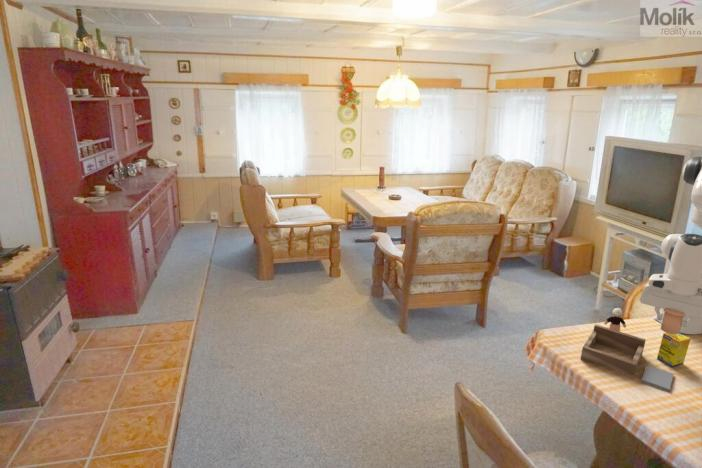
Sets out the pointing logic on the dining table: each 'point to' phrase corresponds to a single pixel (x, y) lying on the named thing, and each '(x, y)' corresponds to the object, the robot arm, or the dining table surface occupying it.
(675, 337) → the supplement box
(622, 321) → the grandmother figurine
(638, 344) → the frame
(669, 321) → the peach drawer knob
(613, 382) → the dining table surface
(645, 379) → the slate mat
